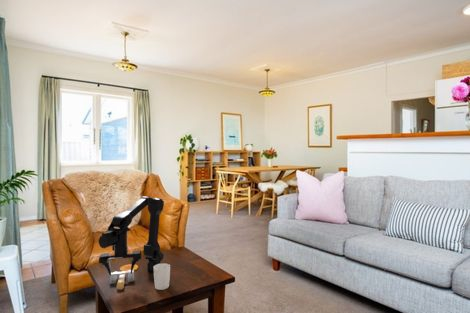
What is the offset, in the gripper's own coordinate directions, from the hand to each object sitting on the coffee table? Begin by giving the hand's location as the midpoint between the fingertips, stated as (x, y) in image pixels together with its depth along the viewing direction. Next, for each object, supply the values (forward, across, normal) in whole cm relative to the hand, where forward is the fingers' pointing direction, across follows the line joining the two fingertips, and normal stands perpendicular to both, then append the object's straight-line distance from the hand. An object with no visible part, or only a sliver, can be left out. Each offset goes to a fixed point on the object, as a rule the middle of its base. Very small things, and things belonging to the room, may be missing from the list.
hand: (120, 274), depth 144 cm
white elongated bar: (+7, 0, -6) cm, 9 cm away
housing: (+7, 0, -10) cm, 12 cm away
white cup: (+7, -19, +4) cm, 20 cm away
